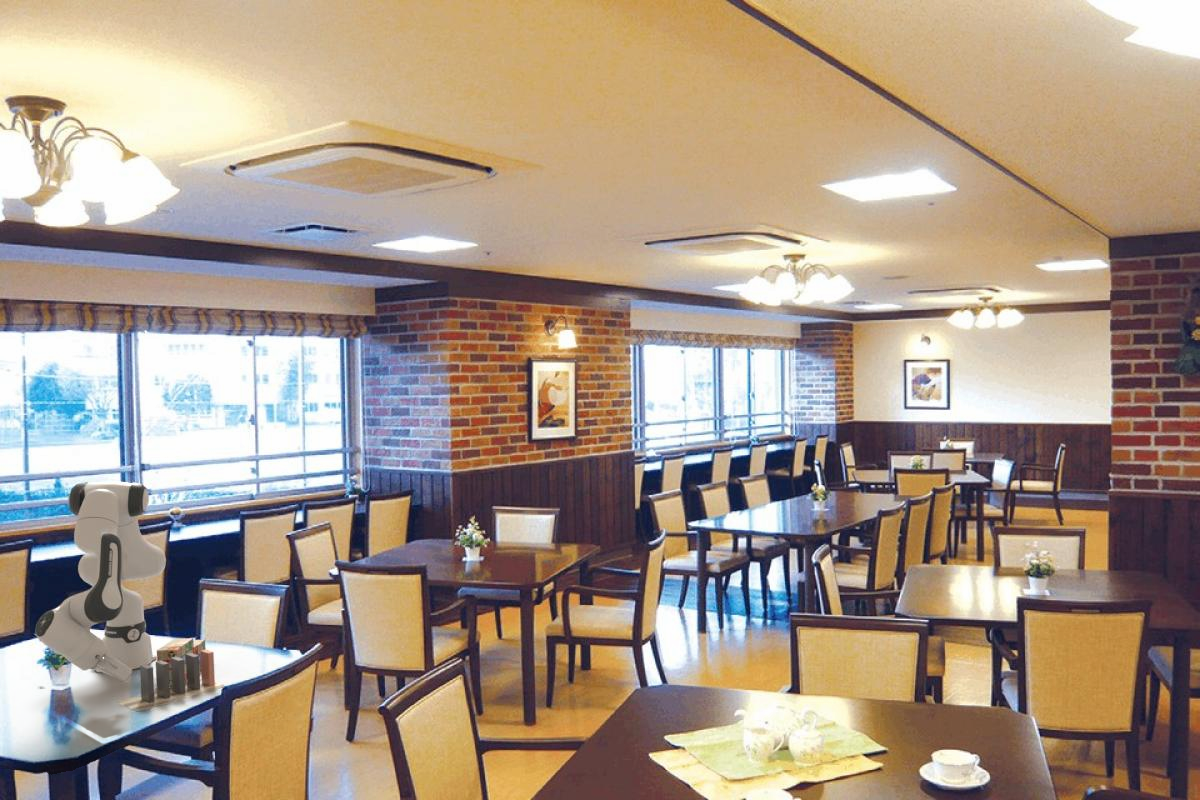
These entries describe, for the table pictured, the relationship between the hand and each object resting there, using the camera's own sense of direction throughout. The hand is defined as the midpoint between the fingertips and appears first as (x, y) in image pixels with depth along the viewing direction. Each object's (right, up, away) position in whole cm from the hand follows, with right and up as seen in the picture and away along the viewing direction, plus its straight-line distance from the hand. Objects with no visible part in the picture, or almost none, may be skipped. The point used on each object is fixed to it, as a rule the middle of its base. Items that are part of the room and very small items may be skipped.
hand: (127, 679), depth 273 cm
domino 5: (+16, -7, +18) cm, 25 cm away
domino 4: (+13, -7, +14) cm, 20 cm away
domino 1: (+4, -7, +4) cm, 9 cm away
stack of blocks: (+3, -8, +29) cm, 30 cm away
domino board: (+8, -8, +9) cm, 15 cm away
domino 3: (+10, -7, +11) cm, 16 cm away
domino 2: (+7, -7, +8) cm, 12 cm away
